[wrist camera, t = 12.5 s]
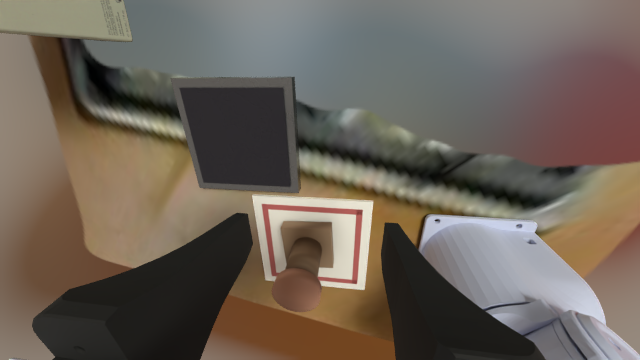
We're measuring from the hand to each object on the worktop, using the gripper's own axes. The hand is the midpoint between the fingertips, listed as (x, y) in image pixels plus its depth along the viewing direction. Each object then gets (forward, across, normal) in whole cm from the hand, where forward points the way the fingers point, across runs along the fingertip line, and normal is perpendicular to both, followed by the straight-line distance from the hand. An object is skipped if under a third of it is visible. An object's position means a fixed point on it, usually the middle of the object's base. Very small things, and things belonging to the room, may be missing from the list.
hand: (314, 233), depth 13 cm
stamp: (+10, +2, +9) cm, 14 cm away
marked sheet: (+10, +2, +10) cm, 15 cm away
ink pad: (+10, +8, -2) cm, 13 cm away
